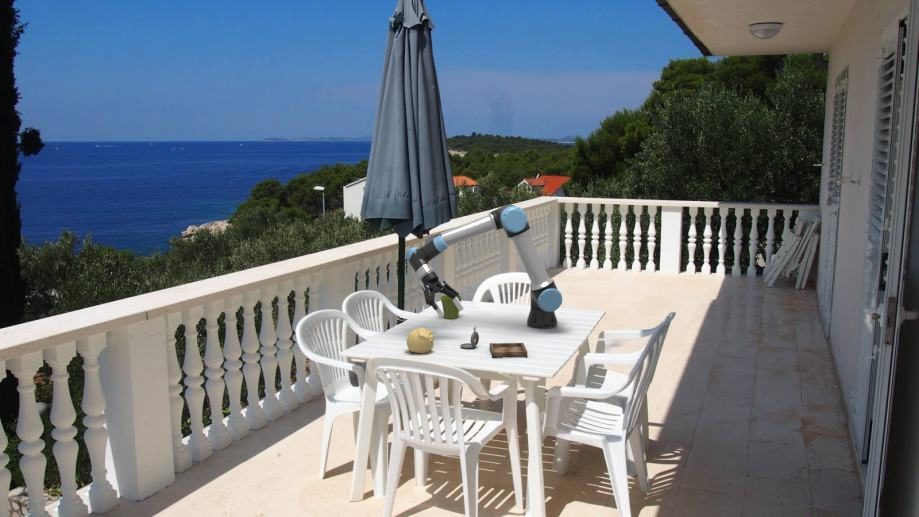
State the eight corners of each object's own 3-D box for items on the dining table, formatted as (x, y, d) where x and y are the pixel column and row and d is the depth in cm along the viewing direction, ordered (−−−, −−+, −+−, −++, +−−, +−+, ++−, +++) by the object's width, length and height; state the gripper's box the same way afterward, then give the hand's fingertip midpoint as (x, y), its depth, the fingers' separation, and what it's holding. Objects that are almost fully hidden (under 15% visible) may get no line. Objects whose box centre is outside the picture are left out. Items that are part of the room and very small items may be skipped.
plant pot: (466, 316, 398) (466, 295, 396) (454, 321, 388) (454, 299, 386) (448, 314, 404) (447, 293, 403) (435, 318, 394) (435, 297, 393)
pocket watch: (459, 345, 341) (459, 324, 339) (478, 345, 341) (478, 323, 340) (461, 350, 333) (461, 328, 331) (480, 349, 333) (480, 327, 332)
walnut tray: (523, 348, 335) (523, 342, 335) (527, 357, 320) (527, 351, 320) (489, 348, 335) (489, 343, 334) (492, 358, 320) (492, 352, 320)
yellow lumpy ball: (431, 355, 325) (430, 331, 323) (404, 354, 327) (403, 330, 325) (436, 348, 336) (436, 325, 334) (410, 347, 338) (409, 324, 336)
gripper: (442, 277, 361) (465, 312, 353) (404, 284, 343) (428, 321, 335) (450, 267, 357) (474, 302, 349) (412, 274, 338) (437, 311, 331)
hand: (452, 312), depth 342 cm, fingers open, 13 cm apart
